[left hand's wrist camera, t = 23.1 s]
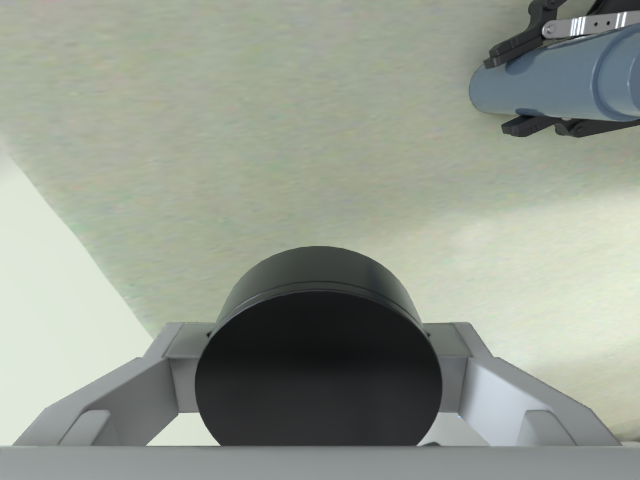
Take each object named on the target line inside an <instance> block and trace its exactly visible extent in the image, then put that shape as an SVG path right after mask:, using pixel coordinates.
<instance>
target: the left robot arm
mask: <svg viewBox="0 0 640 480" xmlns="http://www.w3.org/2000/svg"><path fill="white" fill-rule="evenodd" d="M422 324H423V326H424V328H425V330H426V333H427V335H428V337H429V339H430V341H431V343H432V346H433V348H434V350H435V352H436V354H437V357H438V360H439V363H440V366H441V371H442V378H443V395H442V400H441V405H440V409H439V411H438V414H437V417H436V419H435V421H434V423H433V425H432V427H431V428H430V430H429V431H428V433H427V434H426V435H425V437H424V438H423V439H422V441H421V442H420V443H419V444H418V445H417V446H146V445H147V444H148V443H149V442H150V441H151V440H152V439H153V438H154V437H155V436H156V435H157V434H158V433H159V432H161V431H162V430H163V429H164V428H165V427H166V426H167V425H168V424H169V423H170V422H171V421H172V420H173V419H174V418H175V417H177V416H178V413H194V412H199V409H198V406H197V403H196V396H195V374H196V369H197V364H198V361H199V359H200V356H201V354H202V351H203V349H204V347H205V345H206V343H207V340H208V338H209V336H210V334H211V332H212V330H213V328H214V325H215V323H201V322H186V323H185V322H169V323H166V324H165V326H164V327H163V328H162V330H161V331H160V333H159V334H158V336H157V337H156V338H155V340H154V341H153V343H152V344H151V346H150V347H149V348H148V350H147V351H146V353H145V354H144V356H143V357H139V358H135V359H133V360H131V361H130V362H128V363H126V364H124V365H122V366H121V367H119V368H117V369H115V370H113V371H112V372H110V373H108V374H106V375H105V376H103V377H101V378H99V379H97V380H95V381H94V382H92V383H90V384H88V385H86V386H85V387H83V388H81V389H79V390H77V391H76V392H74V393H72V394H70V395H68V396H67V397H65V398H63V399H61V400H59V401H58V402H56V403H54V404H52V405H50V406H49V407H47V408H45V409H44V410H43V412H42V413H41V414H40V415H39V416H38V417H37V418H36V419H35V420H34V422H33V423H32V424H31V425H30V426H29V427H28V428H27V429H26V430H25V432H24V433H23V434H22V435H21V436H20V437H19V438H18V439H17V440H16V442H15V443H14V444H13V445H12V446H0V480H640V446H623V445H622V444H621V443H620V442H619V441H618V439H617V438H616V437H615V436H614V435H613V434H612V433H611V432H610V430H609V429H608V428H607V427H606V426H605V425H604V424H603V422H602V421H601V420H600V419H599V418H598V417H597V416H596V414H595V413H594V412H593V411H592V410H591V409H590V408H588V407H586V406H585V405H583V404H581V403H579V402H578V401H576V400H574V399H572V398H570V397H569V396H567V395H565V394H563V393H562V392H560V391H558V390H556V389H554V388H553V387H551V386H549V385H547V384H546V383H544V382H542V381H540V380H538V379H537V378H535V377H533V376H531V375H530V374H528V373H526V372H524V371H522V370H521V369H519V368H517V367H515V366H514V365H512V364H510V363H508V362H506V361H505V360H503V359H501V358H499V357H493V355H492V354H491V352H490V351H489V350H488V348H487V347H486V345H485V344H484V342H483V341H482V339H481V338H480V337H479V335H478V334H477V332H476V331H475V329H474V328H473V326H472V325H471V324H470V323H469V322H450V323H422Z"/></svg>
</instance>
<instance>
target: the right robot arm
mask: <svg viewBox="0 0 640 480" xmlns="http://www.w3.org/2000/svg"><path fill="white" fill-rule="evenodd" d="M565 1H567V0H533V1H532V2H531V3H530V5H529V8H528V12H529V14H530V15H531V19H530V24H529V26H528V28H527V29H526V30H525V31H524V32H522V33H520V34H518V35H516V36H514V37H512V38H510V39H508V40H506V41H504V42H502V43H500V44H498V45H496V46H494V47H493V48H492V49H491V50H490V51H489V54H490V58H488V59H486V60H484V65H485V69H491V68H495V67H497V66H500V65H502V64H504V63H506V62H508V61H510V60H512V59H514V58H516V57H519V56H521V55H523V54H525V53H527V52H529V51H531V50H533V49H535V48H537V47H539V46H541V45H543V42H559V41H568V40H572V39H576V38H580V37H584V36H588V35H592V34H596V33H600V32H604V31H608V30H612V29H616V28H620V27H624V26H628V25H632V24H635V23H639V22H640V0H596V1H595V3H594V4H593V6H592V7H591V9H590V10H589V11H588V13H587V14H586V16H583V17H578V18H571V19H561V20H556V16H557V8H558V7H559V6H560V5H562V4H563V3H564V2H565ZM551 125H554V126H555V127H556V128H555V132H556V133H557V134H558V135H563V136H564V135H567V136H572V137H578V138H579V137H584V136H589V135H594V134H599V133H604V132H608V131H613V130H618V129H623V128H628V127H632V126H637V125H640V119H637V120H633V121H624V122H622V121H606V120H590V119H574V118H557V117H541V116H525V115H522V116H519V117H517V118H515V119H513V120H511V121H508V122H506V123H504V124H502V125H501V127H502V130H503V133H504V134H510V135H511V136H516V137H527V136H529V135H531V134H533V133H535V132H537V131H540V130H542V129H544V128H547V127H549V126H551Z"/></svg>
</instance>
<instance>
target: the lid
mask: <svg viewBox="0 0 640 480" xmlns="http://www.w3.org/2000/svg"><path fill="white" fill-rule="evenodd" d="M442 395H443V378H442V371H441V366H440V363H439V360H438V357H437V354H436V352H435V350H434V348H433V346H432V343H431V341H430V339H429V337H428V335H427V333H426V330H425V328H424V326H423V324H422V322H421V319H420V317H419V315H418V313H417V311H416V309H415V306H414V304H413V302H412V300H411V298H410V296H409V294H408V292H407V290H406V289H405V288H404V286H403V285H402V284H401V282H400V281H399V280H398V279H397V278H396V277H395V276H394V275H393V274H392V273H391V272H390V271H389V270H388V269H386V268H385V267H384V266H382V265H381V264H380V263H378V262H376V261H374V260H373V259H371V258H369V257H367V256H364V255H362V254H360V253H357V252H354V251H350V250H347V249H343V248H336V247H330V246H310V247H300V248H296V249H291V250H287V251H284V252H281V253H278V254H276V255H273V256H271V257H269V258H267V259H265V260H263V261H261V262H260V263H259V264H257V265H256V266H254V267H253V268H251V269H250V270H249V271H248V272H247V273H246V274H245V275H244V276H243V277H241V279H240V280H239V281H238V282H237V284H236V285H235V286H234V287H233V289H232V291H231V292H230V294H229V296H228V298H227V300H226V302H225V304H224V306H223V308H222V310H221V313H220V315H219V317H218V319H217V321H216V323H215V325H214V328H213V330H212V332H211V334H210V336H209V338H208V340H207V343H206V345H205V347H204V349H203V351H202V354H201V356H200V359H199V361H198V364H197V369H196V374H195V396H196V403H197V406H198V409H199V413H200V415H201V418H202V420H203V422H204V424H205V426H206V427H207V429H208V430H209V432H210V433H211V435H212V436H213V437H214V438H215V440H216V441H217V442H218V443H219V444H220V445H221V446H417V445H418V444H419V443H420V442H421V441H422V439H423V438H424V437H425V435H426V434H427V433H428V431H429V430H430V428H431V427H432V425H433V423H434V421H435V419H436V417H437V414H438V411H439V409H440V405H441V400H442Z"/></svg>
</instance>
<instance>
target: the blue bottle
mask: <svg viewBox="0 0 640 480" xmlns="http://www.w3.org/2000/svg"><path fill="white" fill-rule="evenodd" d="M469 95H470V99H471V101H472V103H473V105H474V106H475V107H476V108H477V109H478V110H480V111H482V112H484V113H493V114H509V115H525V116H541V117H557V118H574V119H590V120H606V121H622V122H624V121H633V120H637V119H640V22H639V23H635V24H632V25H628V26H624V27H620V28H616V29H612V30H608V31H604V32H600V33H596V34H592V35H588V36H584V37H580V38H576V39H572V40H568V41H564V42H560V43H556V44H552V45H548V46H544V47H540V48H536V49H533V50H531V51H529V52H527V53H525V54H523V55H521V56H519V57H516V58H514V59H512V60H510V61H508V62H506V63H504V64H502V65H500V66H497V67H495V68H491V69H485V65H484V64H483V65H481V66H480V67H479V68H478V69H477V70H476V72H475V73H474V75H473V77H472V79H471V82H470V86H469Z"/></svg>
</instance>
